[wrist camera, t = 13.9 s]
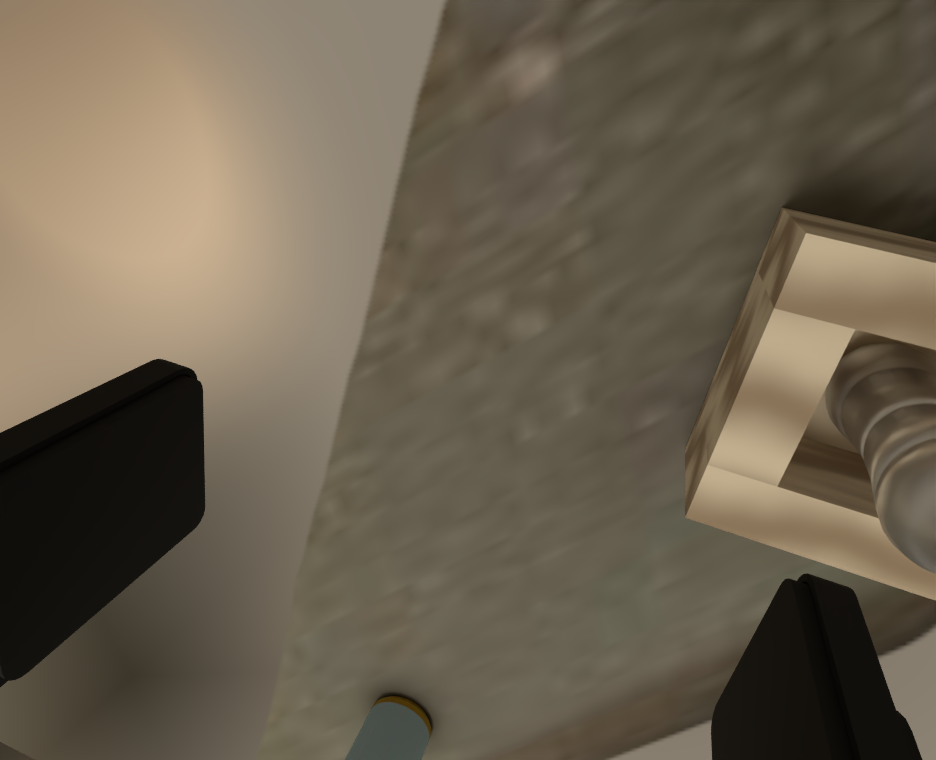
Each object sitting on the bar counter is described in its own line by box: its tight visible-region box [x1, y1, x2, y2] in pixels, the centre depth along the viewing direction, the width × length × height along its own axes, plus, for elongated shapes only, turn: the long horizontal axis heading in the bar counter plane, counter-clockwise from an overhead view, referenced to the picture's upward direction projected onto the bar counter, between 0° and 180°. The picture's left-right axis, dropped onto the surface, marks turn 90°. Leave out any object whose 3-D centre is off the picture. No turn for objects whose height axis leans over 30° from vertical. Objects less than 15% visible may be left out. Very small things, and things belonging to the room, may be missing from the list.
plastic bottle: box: [825, 343, 936, 574], centre depth 31 cm, size 6×7×20 cm
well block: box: [685, 207, 936, 600], centre depth 37 cm, size 18×18×9 cm
